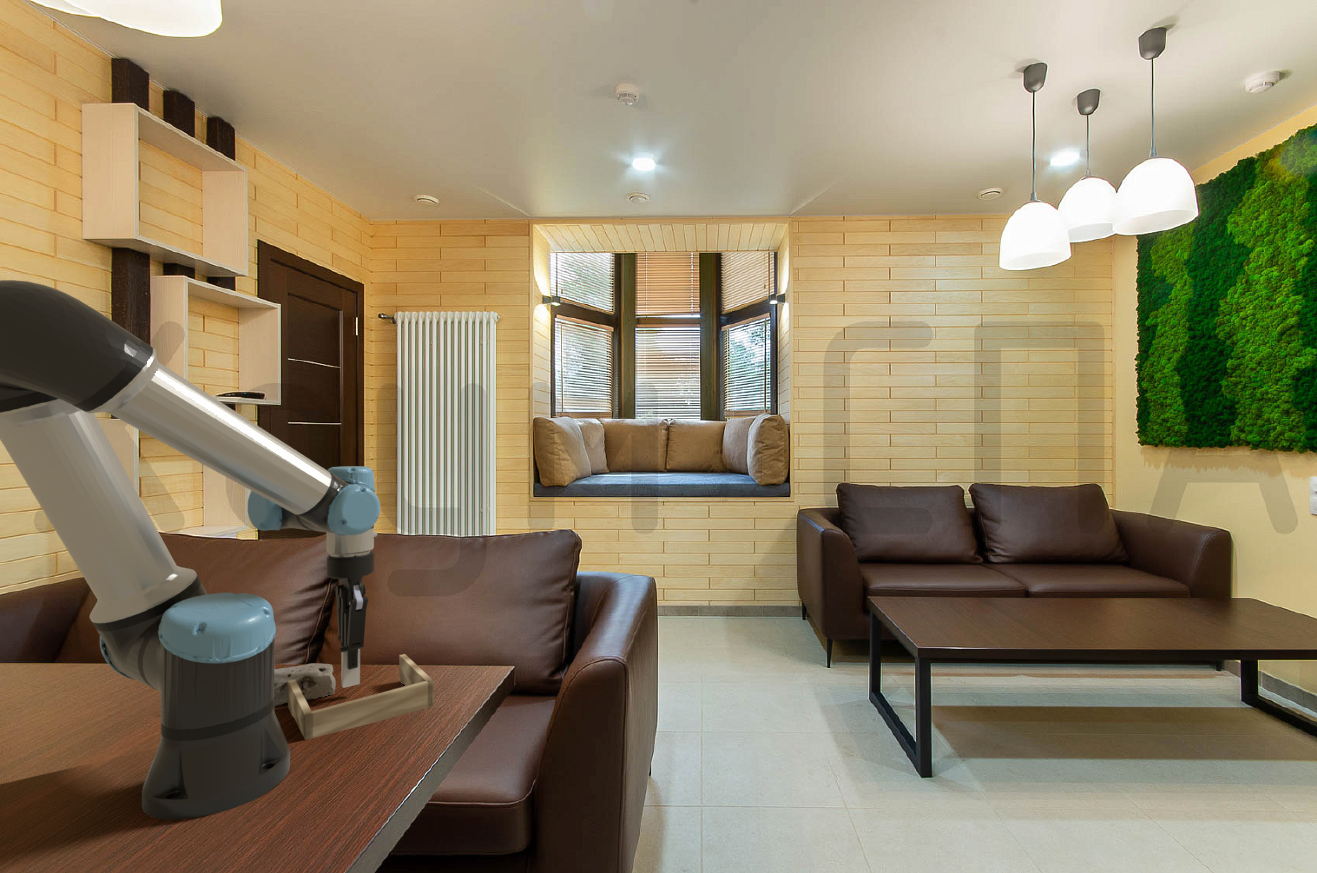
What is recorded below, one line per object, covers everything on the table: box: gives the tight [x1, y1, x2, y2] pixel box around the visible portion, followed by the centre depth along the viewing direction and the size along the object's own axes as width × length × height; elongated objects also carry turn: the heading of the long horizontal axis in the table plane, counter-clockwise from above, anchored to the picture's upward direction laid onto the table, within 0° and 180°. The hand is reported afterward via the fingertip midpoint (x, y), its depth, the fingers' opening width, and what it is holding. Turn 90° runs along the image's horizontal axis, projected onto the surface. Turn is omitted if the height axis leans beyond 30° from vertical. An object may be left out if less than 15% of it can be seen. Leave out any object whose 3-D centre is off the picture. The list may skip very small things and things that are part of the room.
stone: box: [274, 662, 337, 708], centre depth 104 cm, size 13×6×10 cm
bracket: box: [287, 653, 435, 741], centre depth 99 cm, size 16×19×5 cm
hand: (350, 684), depth 104 cm, fingers closed
